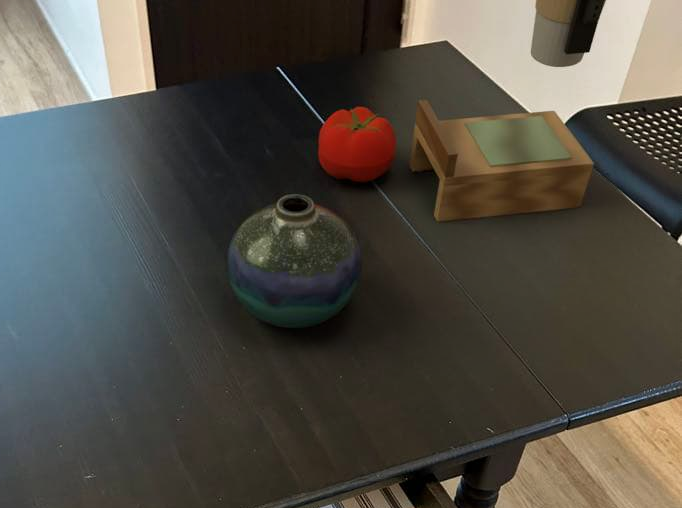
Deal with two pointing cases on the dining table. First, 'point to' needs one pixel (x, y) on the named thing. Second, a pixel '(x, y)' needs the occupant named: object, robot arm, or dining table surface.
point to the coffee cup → (553, 33)
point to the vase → (294, 263)
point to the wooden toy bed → (500, 163)
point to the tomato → (356, 145)
